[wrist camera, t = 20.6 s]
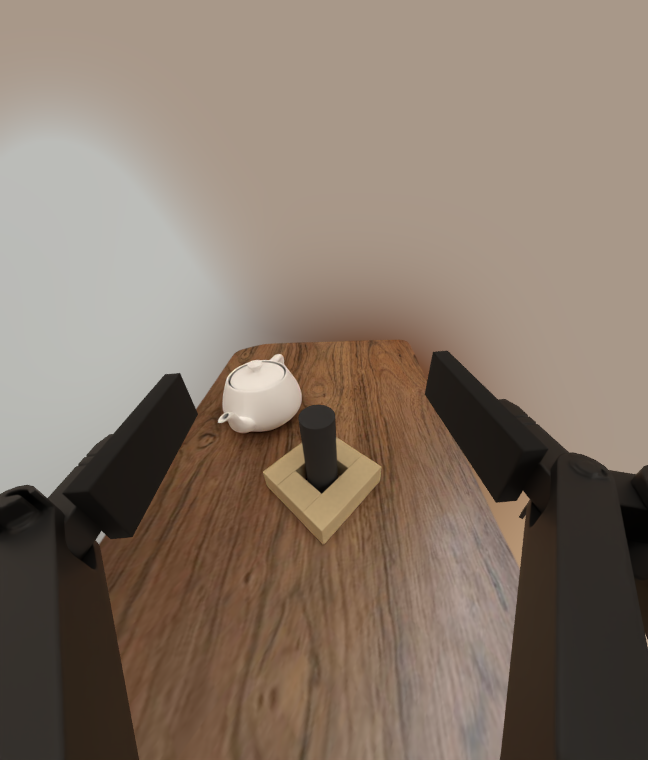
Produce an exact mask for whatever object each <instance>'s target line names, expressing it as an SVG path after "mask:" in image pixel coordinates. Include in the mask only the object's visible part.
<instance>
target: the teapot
mask: <svg viewBox="0 0 648 760" xmlns="http://www.w3.org/2000/svg"><path fill="white" fill-rule="evenodd" d="M301 402H302V393H301V390H300V387H299V385H298V383H297V381H296V379H295V378H294V376H293V375H292V374H291V372H290V371H289V370H288V369H287V367H286V366H285V365H284V358H283V356H282V355H280V354H276V355H274V356H273V357H272V358H271V360H254V361H251V362H249V363H246V364H244V365H242V366H240V367H238V368H236V369H235V370H233V371H232V372H231V373H230V374H229V376H228V377H227V380H226V383H225V388H224V393H223V411H224V414H223V415H222V416H221V417H220V418H219V420H218V423H223V422H225V421H228V423H229V425H230V427H231V428H232V429H233V430H234V431H236V432H239V433H247V432H250V431H255V432H263V431H269V430H273V429H275V428H278V427H280V426H282V425H283V424H285V423H286V422H288V421H289V420H290V419H291V418H292V417H293V416H294V415H295V414H296V413H297V411H298V410H299V408H300V405H301Z"/></svg>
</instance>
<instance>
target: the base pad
mask: <svg viewBox="0 0 648 760" xmlns="http://www.w3.org/2000/svg"><path fill="white" fill-rule="evenodd" d="M336 447H337V471H338V475H340V477H339V478H338V479H337V480H336V481H335V482H334V483H333V484H332V485H331V486H330V487H329V488H327V489H326V490H325V491H324V492H323V493H322V494H321V493H320V492H319V491H318V490H317V489H315V488H314V487H313V486H312V485H311V484H310V483H309V482H308V481H306V480H305V478H306V477H307V473H306V467H305V460H304V453H303V446H302V443H301V444H299V445H298V446H297V447H295V448H294V449H293V450H291V451H290V452H289V453H287V454H286V455H285V456H283V457H282V458H281V459H279V460H278V461H277V462H275V463H274V464H273V465H271V466H270V467H269V468H267V469H266V470H265V471H264V472H263V474H264V477H265V481H266V484H267V487H268V488H269V489H270V490H271V491H272V492H273V493H274V494H275V495H276V496H277V497H278V498H279V499H280V500H281V501H282V502H283V503H284V504H285V505H286V506H287V507H288V508H289V510H290V511H291V512H292V513H293V514H294V515H295V516H296V517H297V518H298V519H299V520H300V521H301V522H302V523H303V524H304V525H305V526H306V527H307V528H308V530H309V531H310V532H311V533H312V534H313V535H314V536H315V537H316V538H317V539H318V540H319V541H320V542H321V543H322V544H323V545H324V544H325V543H326V542H327V541H328V540H329V539H330V537H331V536H332V535H333V534H334V533H335V532H336V531H337V529H338V528H339V527H340V526H341V525H342V524H343V523H344V521H345V520H346V519H347V518H348V517H349V516H350V515H351V514H352V512H353V511H354V510H355V509H356V508H357V507H358V506H359V504H360V503H361V502H362V501H363V500H364V499H365V498H366V496H367V495H368V494H369V493H370V492H371V491H372V490H373V488H374V487H375V486H376V485H377V484H378V483H379V482H380V476H381V466H380V465H378V464H376V463H375V462H373V461H372V460H370V459H369V458H367V457H366V456H364V455H362V454H361V453H360V452H358V451H357V450H355V449H354V448H352V447H350V446H349V445H347V444H346V443H344V442H343V441H341V440H340V439H338V438H337V437H336Z"/></svg>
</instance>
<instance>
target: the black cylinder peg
mask: <svg viewBox="0 0 648 760" xmlns="http://www.w3.org/2000/svg"><path fill="white" fill-rule="evenodd" d="M298 419H299V426H300V433H301V440H302V446H303V453H304V460H305V467H306V473H307V480H308V482H309V483H310V484H311V485H312V486H313V487H314V488H315V489H317V490H318V491H319V492H320V493H321V494H322V493H323V492H324V491H325V490H326V489H327V488H329V487H330V486H331V485H332V484H333V483H334V482H335V481H336V480H337V479H338V471H337V447H336V424H335V413H334V411H333V410H332V409H331V408H329V407H327V406H324V405H312V406H309V407H307V408H305V409H303V410H302V411H301V413H300V414H299V418H298Z"/></svg>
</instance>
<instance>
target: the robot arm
mask: <svg viewBox="0 0 648 760" xmlns="http://www.w3.org/2000/svg"><path fill="white" fill-rule="evenodd" d="M425 395H426V397H427V398H428V400H429V401H430V403H431V404H432V406H433V408H434V409H435V411H436V412H437V414H438V415H439V417H440V418H441V420H442V421H443V423H444V424H445V426H446V427H447V429H448V430H449V432H450V433H451V435H452V436H453V438H454V439H455V441H456V442H457V444H458V446H459V447H460V449H461V450H462V452H463V453H464V455H465V456H466V458H467V459H468V461H469V462H470V464H471V465H472V467H473V468H474V470H475V471H476V473H477V474H478V476H479V477H480V479H481V480H482V482H483V484H484V485H485V486H486V488H487V490H488V491H489V493H490V494H491V496H492V497H493V499H494V500H495V502H507V501H516V500H517V499H518V498H519V496H520V494H521V493H522V491H524V492H525V493H526V495H527V496H528V497H529V498H530V500H529V502H528V503H527V505H526V506H525V508H524V509H523V511H522V512H521V514H520V516H519V517H520V518H522V519H523V518H524V516H525V515H526V519H525V528H524V538H523V547H522V557H521V567H520V576H519V586H518V595H517V605H516V614H515V624H514V634H513V643H512V653H511V662H510V672H509V682H508V691H507V701H506V710H505V720H504V730H503V739H502V749H501V756H500V760H648V647H647V642H646V637H645V634H646V636H647V639H648V465H647V466H644V467H643V468H642V469H641V470H640V471H639V472H638V473H637V474H630V473H624V472H617V471H611V470H608V469H607V468H606V467H605V466H604V465H602V464H601V463H599V462H597V461H596V460H594V459H591V458H589V457H587V456H585V455H582V454H577V453H569V452H568V451H567V450H566V449H564V448H563V447H562V446H561V445H560V444H559V443H558V442H557V441H556V440H555V439H553V438H552V437H551V436H550V435H549V434H548V433H547V432H546V431H545V430H543V429H542V428H541V427H540V426H539V425H538V424H536V422H535V421H534V420H533V419H532V418H530V417H528V415H527V414H526V413H525V412H523V410H522V409H520V408H519V407H518V406H517V405H515V404H513V403H511V402H509V401H508V400H506V399H501V400H498V399H497V398H496V397H495V396H494V395H493V394H492V393H490V392H489V390H487V389H486V388H485V387H484V386H483V385H482V384H481V383H480V382H479V381H478V380H477V379H476V378H475V377H474V376H473V375H472V374H471V373H470V372H469V371H468V370H467V369H466V368H465V367H464V366H463V365H462V364H461V363H460V362H459V361H458V360H457V359H456V358H454V357H453V356H452V355H451V354H450V353H449V352H448V351H438V352H433V355H432V360H431V365H430V371H429V375H428V380H427V386H426V391H425ZM197 415H198V413H197V411H196V409H195V406H194V404H193V402H192V399H191V397H190V395H189V393H188V390H187V388H186V386H185V384H184V381H183V379H182V377H181V374H180V373H177V374H165V375H164V376H163V377H162V379H161V380H160V381H159V382H158V383H157V385H155V387H154V388H153V389H152V390H151V391H150V392H149V393H148V395H147V396H146V397H145V398H144V399H143V400H142V402H141V403H140V404H139V405H138V406H137V407H136V409H135V410H134V411H133V412H132V413H131V414H130V415H129V417H128V418H127V419H126V420H125V421H124V422H123V423H122V425H121V426H120V427H119V428H118V429H117V430H116V432H115V433H114V434H110V435H108V436H107V437H106V438H104V439H103V440H102V441H100V442H99V443H97V444H96V445H95V446H94V447H93V448H92V450H91V451H90V452H89V453H88V454H87V457H84V458H83V460H82V461H81V462H80V463H79V466H77V467H75V468H74V470H73V471H72V472H71V473H70V474H69V475H68V476H67V477H66V478H65V480H64V481H63V482H62V483H61V484H60V485H59V486H58V487H57V489H55V491H54V492H53V493H52V494H51V495H50V496H49V497H48V498H46V497H45V496H44V495H43V494H42V493H41V492H40V491H38V490H37V489H36V488H35V487H34V486H30V485H24V486H18V487H15V488H12V489H10V490H7V491H5V492H3V493H1V494H0V760H139V757H138V752H137V746H136V741H135V735H134V730H133V724H132V719H131V713H130V708H129V703H128V697H127V692H126V686H125V681H124V675H123V670H122V664H121V659H120V653H119V648H118V643H117V637H116V632H115V626H114V621H113V615H112V610H111V604H110V599H109V593H108V588H107V583H106V577H105V572H104V566H103V561H102V555H101V550H100V546H99V544H98V543H97V542H96V541H95V540H96V538H97V536H98V535H99V534H100V532H101V531H102V532H104V533H105V534H106V535H107V536H108V537H109V538H110V539H117V538H127V537H133V535H134V533H135V531H136V529H137V527H138V525H139V524H140V522H141V520H142V518H143V516H144V514H145V512H146V510H147V509H148V507H149V505H150V503H151V501H152V499H153V497H154V495H155V494H156V492H157V490H158V488H159V486H160V484H161V482H162V480H163V479H164V477H165V475H166V473H167V471H168V469H169V467H170V465H171V464H172V462H173V460H174V458H175V456H176V454H177V452H178V450H179V449H180V447H181V445H182V443H183V441H184V439H185V437H186V435H187V434H188V432H189V430H190V428H191V426H192V424H193V422H194V420H195V419H196V417H197Z"/></svg>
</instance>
